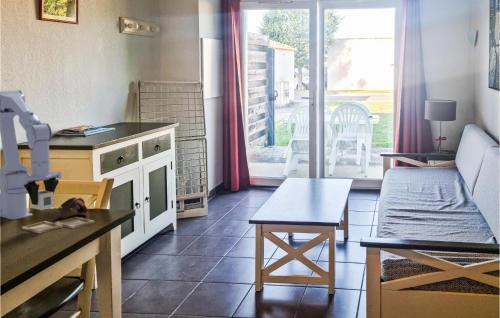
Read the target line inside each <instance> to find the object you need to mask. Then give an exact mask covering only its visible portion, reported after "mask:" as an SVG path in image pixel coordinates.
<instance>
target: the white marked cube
mask: <svg viewBox="0 0 500 318" xmlns="http://www.w3.org/2000/svg"><path fill="white" fill-rule="evenodd" d="M30 205H31V206H30V208H31V209H34V210H39V211H43V210H48V209H52V208H54V207H55V199H54V195H53V192H50V191H45V189H44V190H43V189H42V190H38V205H33V204H32V202H31V201H30Z"/></svg>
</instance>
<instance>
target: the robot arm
mask: <svg viewBox="0 0 500 318" xmlns="http://www.w3.org/2000/svg"><path fill="white" fill-rule="evenodd" d="M17 116H18V122H19V124H20V126H21V127H22V128H23V130H24V131H25V136H26V139H27V144H28V148H29V151H30V152H29V153H30V154H29V155H30V169H31V170H30V171H31V172H30V171H29V169H28V167H27V166H26V165H24V164H23V163H21V161H20V155H19V149H18V142H17V136H16V130H15V127H16V126H15V123H14V122H15V121H14V118H15V117H17ZM52 135H53V133H52V128H51V126H50V124H49V123H46V122H42V121H41V119H40V118H39V117H38V115H37V114H36V113H35V112H34V111H33V110H29V108H28V106H27V105H26V97H25V94H24V91H22V90H21V89H17V90H0V140H1V147H2V154H3V160H4V165H3V166H2V167H0V191H1V192H0V217H1V218H6V219H8V220H17V219H22V218H27V217H31V216H34V214H33V213H31V212H30V213H29V212H28V204H27V202H28V201H27V194H28V195H29V198H30V203H31V202H32V204H33V205H38V191H40V190H39V189H40V184H38V182H43V185H44V190H45V191H50V192H53V196H54V195H55V191H56V188H57V186H58V184H59V181H60V180H59V179H62V171H51V168H50V167H51V165H50V141H51V140H52Z"/></svg>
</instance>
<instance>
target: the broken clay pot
mask: <svg viewBox="0 0 500 318" xmlns="http://www.w3.org/2000/svg"><path fill="white" fill-rule="evenodd" d="M71 209H72V210H76V211H77V213H78V214H82V213H84V214H83V215H84V216H85V219H89V218H90V214H89V210H88V207H87V206H86V204H85V200H84V199H83V198H81V197H78V198H77V197H71V198H69V199H66V201H64V202H63V203H61V204H60V206H59V207H58V208H57V210H58V211H59V217H61V218H64V217H65V216H66V215H71V211H72V210H71Z"/></svg>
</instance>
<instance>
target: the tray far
mask: <svg viewBox="0 0 500 318" xmlns="http://www.w3.org/2000/svg"><path fill="white" fill-rule="evenodd" d="M54 223H55V224H60V225H62V227H64V228H68V229H73V230H74V229H77V228H80V227H85V226H88V225H91V224H94V223H95V220H91V219H89V218H84V217H79V216H74V217H70V218H66V219H63V220H58V221H54Z"/></svg>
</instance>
